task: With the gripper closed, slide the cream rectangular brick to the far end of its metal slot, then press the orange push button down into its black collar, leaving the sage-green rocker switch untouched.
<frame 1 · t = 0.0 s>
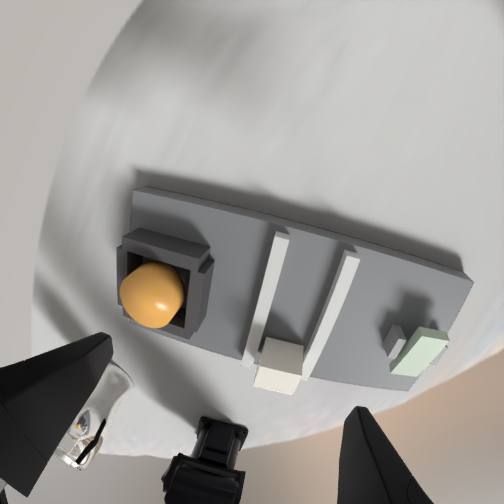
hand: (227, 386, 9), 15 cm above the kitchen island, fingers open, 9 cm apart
rocker: (418, 353, 19), point 4 cm above the kitchen island, hinge at -12.0°
button: (152, 294, 20), point 5 cm above the kitchen island, slide at 0.0 cm
cream rectangular brick: (279, 365, 21), point 4 cm above the kitchen island, slide at 0.0 cm
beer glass: (116, 376, 33), on the kitchen island
panel: (295, 299, 24), on the kitchen island
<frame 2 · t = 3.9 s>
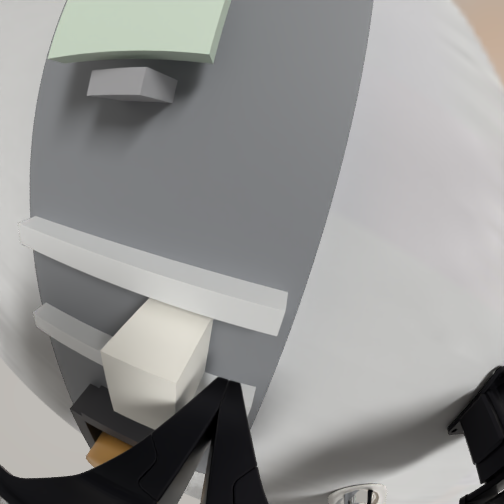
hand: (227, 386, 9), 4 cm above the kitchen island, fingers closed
rocker: (137, 10, 5), point 4 cm above the kitchen island, hinge at -12.0°
button: (124, 462, 12), point 5 cm above the kitchen island, slide at 0.0 cm
cream rectangular brick: (161, 364, 9), point 4 cm above the kitchen island, slide at 1.5 cm, touching gripper
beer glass: (357, 492, 19), on the kitchen island
panel: (150, 290, 13), on the kitchen island
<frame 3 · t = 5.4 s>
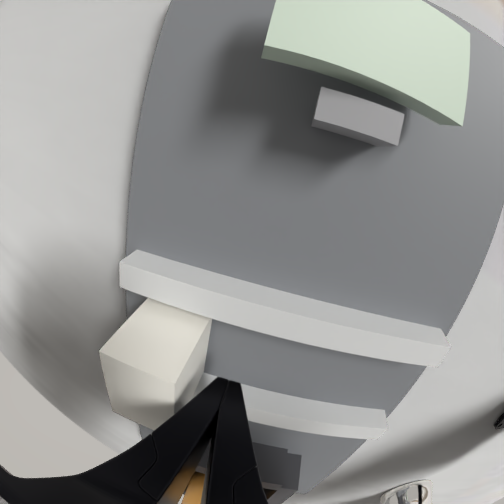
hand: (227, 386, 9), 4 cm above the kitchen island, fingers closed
rocker: (380, 33, 4), point 4 cm above the kitchen island, hinge at -12.0°
button: (222, 498, 12), point 5 cm above the kitchen island, slide at 0.0 cm
cream rectangular brick: (160, 364, 9), point 4 cm above the kitchen island, slide at 7.9 cm, touching gripper
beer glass: (406, 489, 18), on the kitchen island
panel: (280, 329, 12), on the kitchen island
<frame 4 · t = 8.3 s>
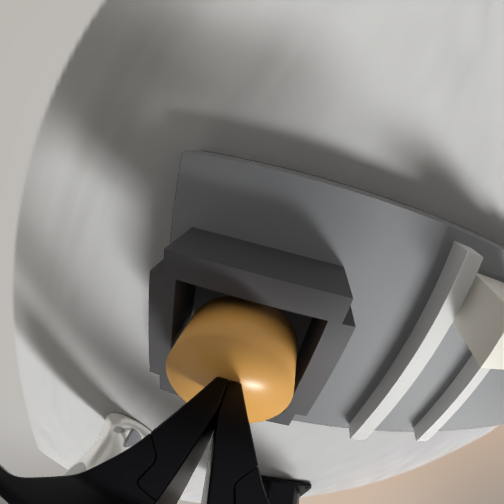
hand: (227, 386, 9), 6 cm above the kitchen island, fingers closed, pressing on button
button: (234, 363, 10), point 5 cm above the kitchen island, slide at 0.2 cm, touching gripper
cream rectangular brick: (499, 321, 8), point 4 cm above the kitchen island, slide at 7.9 cm
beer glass: (133, 429, 23), on the kitchen island
panel: (431, 338, 13), on the kitchen island
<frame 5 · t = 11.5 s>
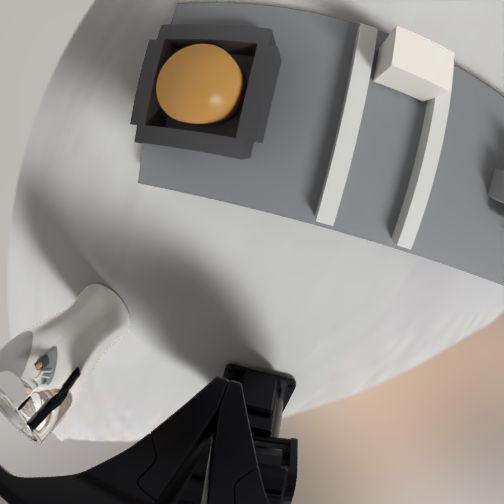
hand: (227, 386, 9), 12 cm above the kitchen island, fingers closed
button: (202, 85, 13), point 4 cm above the kitchen island, slide at 1.4 cm
cream rectangular brick: (412, 66, 10), point 4 cm above the kitchen island, slide at 7.9 cm
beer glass: (106, 309, 25), on the kitchen island
panel: (380, 134, 16), on the kitchen island
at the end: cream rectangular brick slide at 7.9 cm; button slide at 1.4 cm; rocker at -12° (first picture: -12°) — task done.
